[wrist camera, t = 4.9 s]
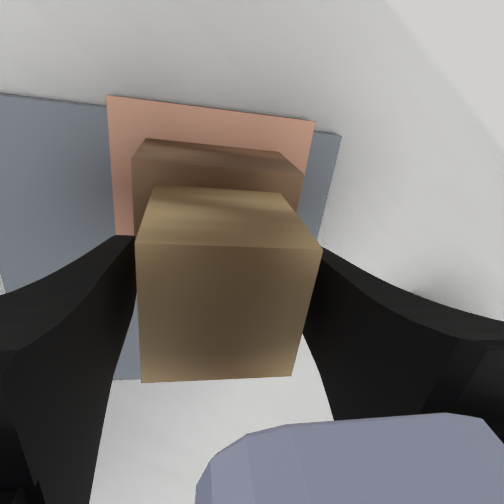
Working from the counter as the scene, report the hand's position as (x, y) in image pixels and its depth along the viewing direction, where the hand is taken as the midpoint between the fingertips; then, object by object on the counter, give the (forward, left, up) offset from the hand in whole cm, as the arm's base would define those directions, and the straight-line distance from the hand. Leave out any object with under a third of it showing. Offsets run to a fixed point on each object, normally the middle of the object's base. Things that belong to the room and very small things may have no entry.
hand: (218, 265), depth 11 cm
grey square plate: (-2, -4, -6) cm, 8 cm away
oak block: (0, 0, -2) cm, 2 cm away
